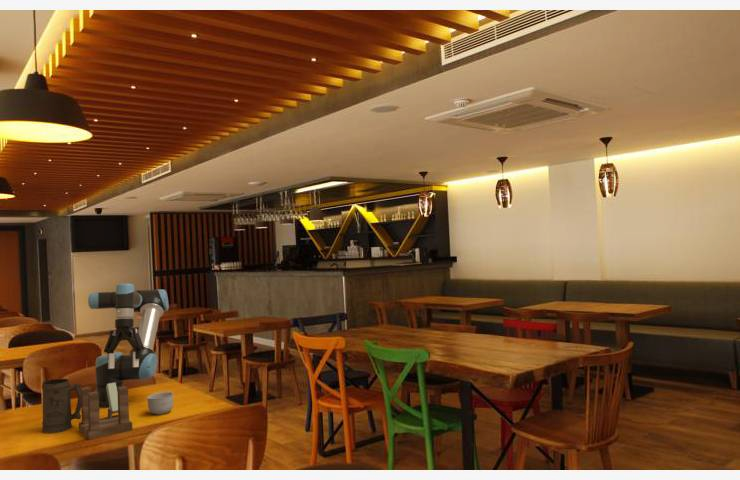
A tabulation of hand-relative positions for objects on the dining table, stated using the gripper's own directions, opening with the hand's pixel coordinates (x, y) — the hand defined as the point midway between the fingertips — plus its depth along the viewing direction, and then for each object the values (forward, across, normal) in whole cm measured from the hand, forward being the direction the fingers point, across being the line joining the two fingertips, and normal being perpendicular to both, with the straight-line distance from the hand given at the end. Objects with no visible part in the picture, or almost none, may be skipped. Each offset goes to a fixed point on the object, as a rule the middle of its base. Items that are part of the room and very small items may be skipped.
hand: (123, 367), depth 251 cm
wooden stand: (+24, +5, -14) cm, 28 cm away
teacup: (+20, +11, +12) cm, 26 cm away
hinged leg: (+18, +4, -8) cm, 20 cm away
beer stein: (+23, -14, -17) cm, 32 cm away
